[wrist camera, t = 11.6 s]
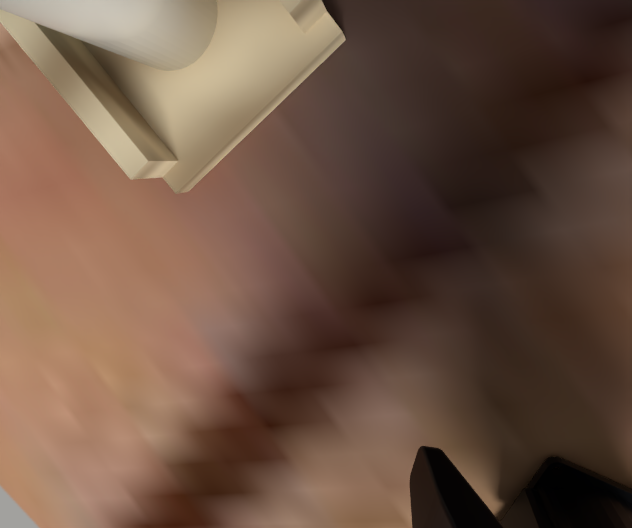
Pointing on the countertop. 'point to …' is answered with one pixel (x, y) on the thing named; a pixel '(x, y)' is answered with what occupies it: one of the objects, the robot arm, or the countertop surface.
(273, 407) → the countertop surface
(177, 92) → the stand
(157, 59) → the mill
